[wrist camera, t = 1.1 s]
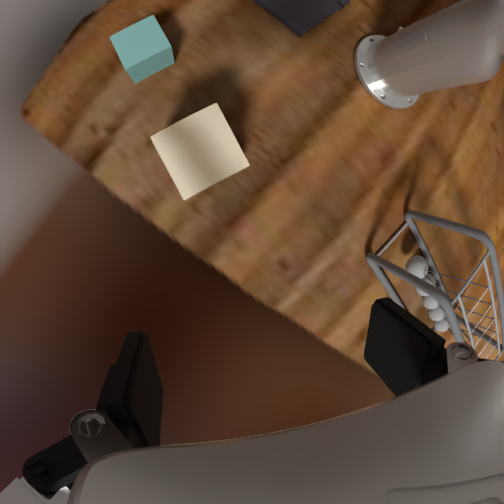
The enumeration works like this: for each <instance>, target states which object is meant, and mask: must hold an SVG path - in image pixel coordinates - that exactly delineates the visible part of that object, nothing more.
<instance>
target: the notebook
mask: <svg viewBox="0 0 504 504" xmlns="http://www.w3.org/2000/svg"><path fill="white" fill-rule="evenodd" d="M253 1H254V2H256V3H257V4H259V5H260V6H261V7H263V8H264V9H265V10H267V11H268V12H269V13H271V14H272V15H273V16H275V17H276V18H277V19H278V20H280V21H281V22H282V23H283V24H284V25H286V26H287V27H288V28H289V29H291V30H292V31H293V32H294V33H295V34H296V35H298V36H299V37H300V38H301V36H302V35H303V34H305V33H306V32H307V31H309V30H310V29H312V28H313V27H314V26H316V25H317V24H319V23H320V22H321V21H323V20H324V19H326V18H327V17H329V16H330V15H332V14H333V13H335V12H336V11H338V10H339V9H340V10H341V9H342V8H343V7H344V6H345V5H347V4H348V3H349V2H350V1H349V0H253Z"/></svg>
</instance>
